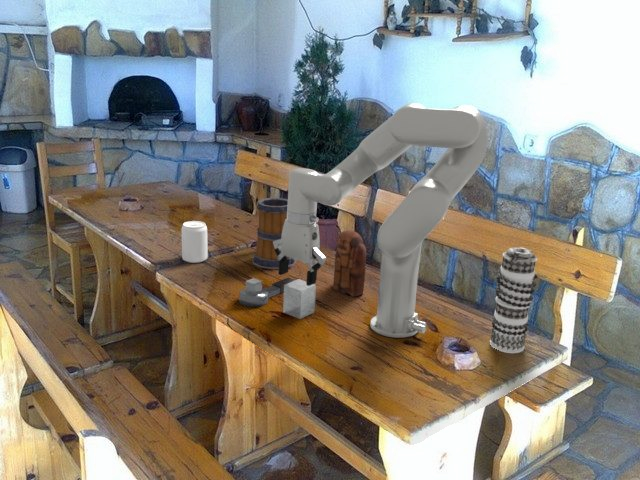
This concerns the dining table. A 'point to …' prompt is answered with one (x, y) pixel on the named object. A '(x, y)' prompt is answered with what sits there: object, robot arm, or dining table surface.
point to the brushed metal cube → (299, 299)
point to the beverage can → (194, 241)
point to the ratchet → (260, 292)
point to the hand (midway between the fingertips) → (296, 278)
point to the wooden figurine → (350, 264)
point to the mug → (270, 232)
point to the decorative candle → (513, 300)
